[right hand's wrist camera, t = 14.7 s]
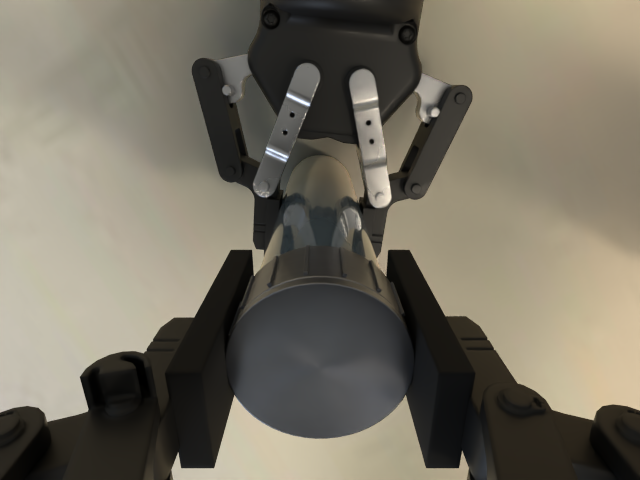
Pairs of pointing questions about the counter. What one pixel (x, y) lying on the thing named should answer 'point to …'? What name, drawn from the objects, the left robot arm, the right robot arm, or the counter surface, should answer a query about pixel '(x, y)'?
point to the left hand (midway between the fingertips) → (315, 257)
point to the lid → (320, 344)
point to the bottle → (320, 211)
